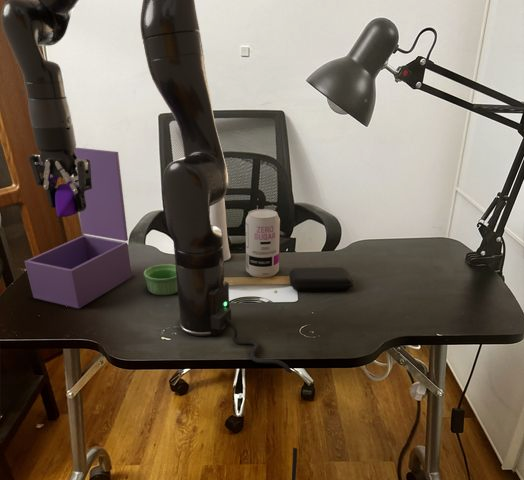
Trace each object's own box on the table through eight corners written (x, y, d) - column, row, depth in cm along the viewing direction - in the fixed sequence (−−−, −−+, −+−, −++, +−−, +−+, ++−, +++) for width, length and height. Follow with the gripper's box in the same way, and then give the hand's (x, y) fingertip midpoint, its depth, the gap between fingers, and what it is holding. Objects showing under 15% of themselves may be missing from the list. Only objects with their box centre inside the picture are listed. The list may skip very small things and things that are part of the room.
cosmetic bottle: (216, 263, 135) (212, 177, 124) (203, 256, 139) (198, 172, 128) (235, 258, 139) (233, 173, 127) (222, 251, 143) (218, 169, 131)
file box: (79, 308, 113) (71, 271, 108) (33, 297, 117) (24, 261, 113) (132, 276, 128) (127, 242, 123) (89, 268, 132) (83, 234, 128)
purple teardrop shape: (44, 204, 101) (60, 178, 113) (50, 227, 104) (65, 200, 116) (70, 203, 101) (83, 177, 113) (75, 227, 104) (87, 199, 116)
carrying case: (346, 274, 129) (287, 275, 129) (347, 263, 128) (287, 263, 127) (354, 293, 120) (290, 293, 120) (355, 280, 119) (291, 281, 118)
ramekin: (180, 278, 127) (178, 261, 124) (188, 293, 120) (187, 275, 117) (143, 283, 124) (141, 266, 122) (149, 299, 117) (147, 281, 115)
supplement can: (265, 263, 135) (265, 206, 128) (285, 273, 130) (287, 214, 122) (239, 270, 131) (238, 212, 123) (259, 281, 126) (259, 220, 118)
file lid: (116, 152, 113) (130, 149, 117) (68, 147, 117) (84, 144, 121) (126, 241, 122) (139, 235, 127) (82, 233, 127) (96, 228, 131)
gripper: (9, 123, 100) (29, 209, 109) (67, 128, 95) (83, 218, 104) (38, 118, 106) (54, 200, 115) (94, 123, 101) (107, 208, 110)
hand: (68, 208), depth 109 cm, fingers closed on purple teardrop shape, 6 cm apart
